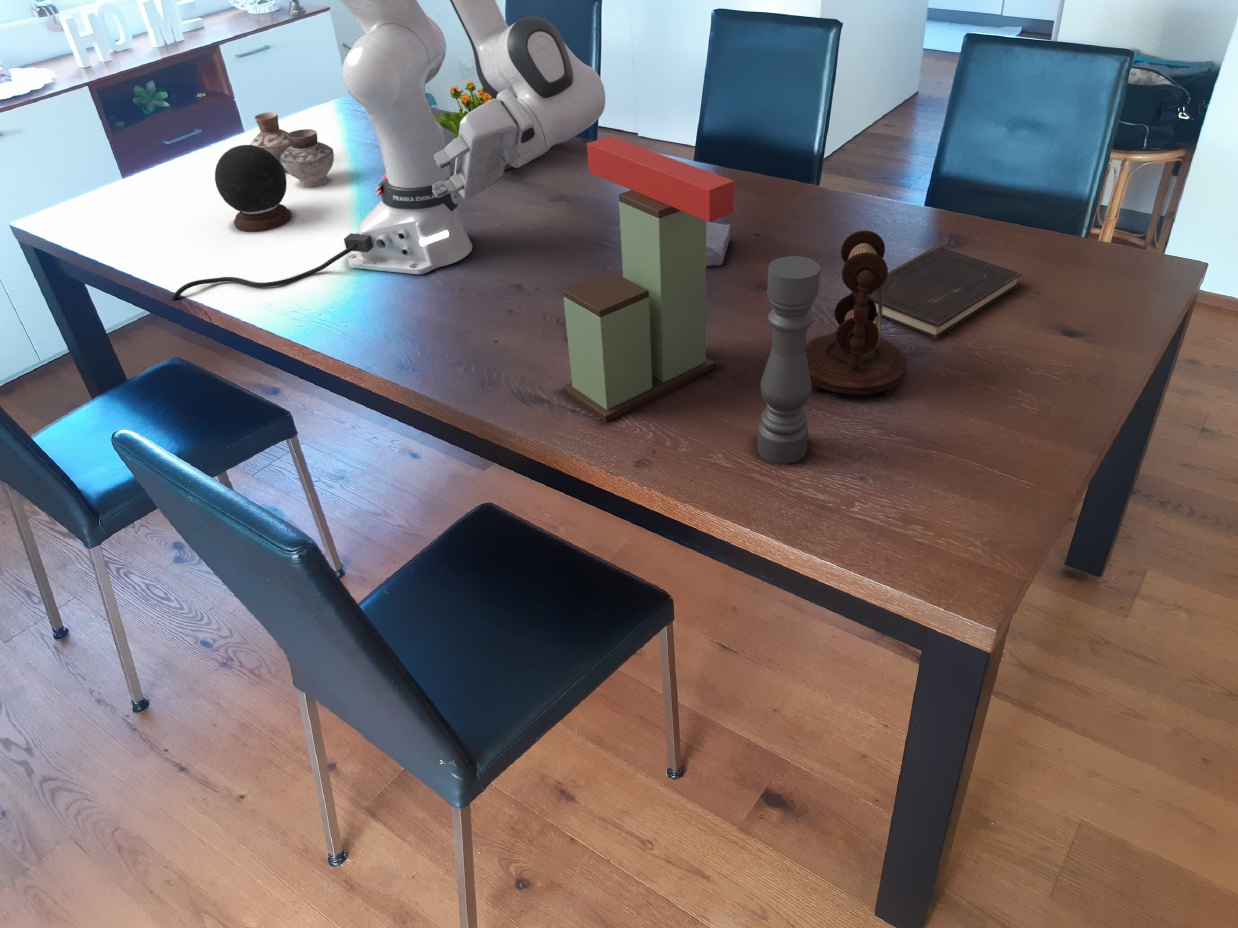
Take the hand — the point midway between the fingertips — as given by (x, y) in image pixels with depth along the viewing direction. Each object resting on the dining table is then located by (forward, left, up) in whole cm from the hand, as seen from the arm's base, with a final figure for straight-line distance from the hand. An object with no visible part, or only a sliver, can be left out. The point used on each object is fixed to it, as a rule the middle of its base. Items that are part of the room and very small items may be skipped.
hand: (435, 177), depth 134 cm
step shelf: (+31, -18, -23) cm, 43 cm away
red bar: (+34, -14, +3) cm, 37 cm away
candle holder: (+51, -34, -23) cm, 65 cm away
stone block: (+38, +24, -23) cm, 51 cm away
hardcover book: (+76, +8, -23) cm, 80 cm away
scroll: (+61, -16, -23) cm, 67 cm away
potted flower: (-10, +69, -23) cm, 74 cm away
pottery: (-54, +64, -23) cm, 88 cm away
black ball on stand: (-51, +39, -23) cm, 69 cm away
